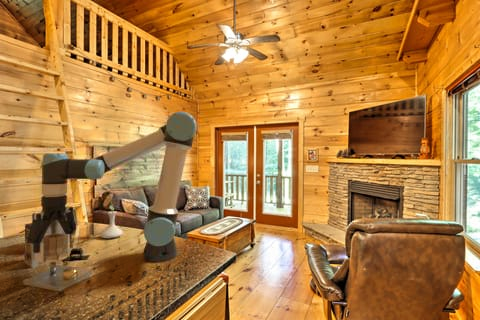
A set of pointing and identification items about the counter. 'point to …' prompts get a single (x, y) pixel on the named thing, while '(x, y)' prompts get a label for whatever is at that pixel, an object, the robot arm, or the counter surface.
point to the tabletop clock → (57, 227)
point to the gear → (54, 248)
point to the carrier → (57, 277)
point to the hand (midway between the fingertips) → (53, 255)
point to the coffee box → (29, 248)
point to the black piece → (77, 258)
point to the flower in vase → (111, 222)
